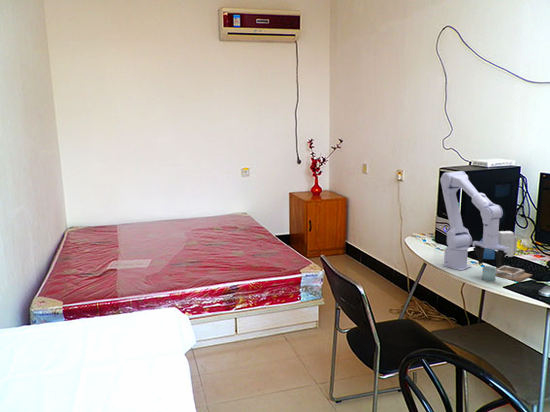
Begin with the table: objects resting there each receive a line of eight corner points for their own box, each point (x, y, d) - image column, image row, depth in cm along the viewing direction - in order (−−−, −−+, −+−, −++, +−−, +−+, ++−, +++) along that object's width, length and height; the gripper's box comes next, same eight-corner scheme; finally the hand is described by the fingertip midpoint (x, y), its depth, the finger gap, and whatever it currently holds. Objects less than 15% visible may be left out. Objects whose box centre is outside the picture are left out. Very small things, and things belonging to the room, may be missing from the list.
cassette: (517, 252, 218) (518, 237, 217) (515, 252, 217) (515, 237, 216) (495, 246, 229) (496, 232, 227) (493, 247, 228) (493, 233, 226)
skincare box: (509, 254, 215) (510, 230, 213) (513, 257, 211) (514, 233, 209) (496, 254, 216) (497, 231, 213) (500, 257, 212) (501, 233, 209)
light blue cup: (479, 279, 185) (480, 268, 184) (486, 276, 188) (486, 265, 187) (491, 282, 181) (491, 271, 180) (497, 279, 184) (498, 268, 183)
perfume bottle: (480, 258, 211) (481, 234, 208) (477, 255, 217) (478, 231, 214) (494, 259, 209) (495, 235, 207) (491, 255, 215) (492, 231, 213)
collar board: (486, 273, 191) (486, 268, 191) (499, 267, 197) (499, 263, 197) (519, 282, 180) (519, 277, 179) (532, 275, 186) (532, 270, 186)
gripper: (468, 232, 185) (467, 263, 187) (503, 239, 173) (501, 271, 175) (478, 229, 189) (476, 260, 191) (512, 235, 177) (510, 267, 179)
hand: (489, 265), depth 184 cm, fingers open, 7 cm apart
